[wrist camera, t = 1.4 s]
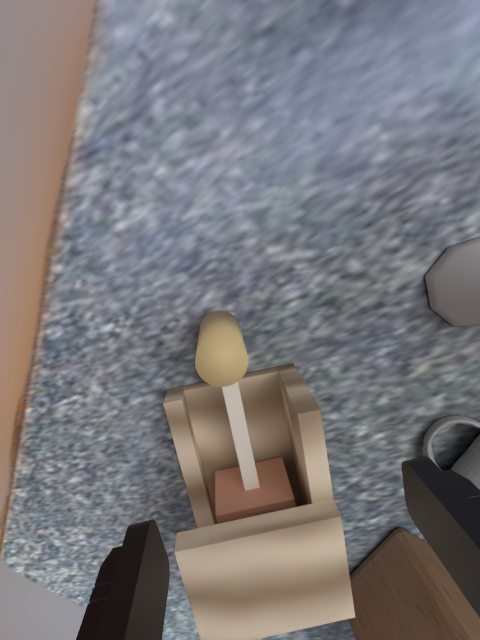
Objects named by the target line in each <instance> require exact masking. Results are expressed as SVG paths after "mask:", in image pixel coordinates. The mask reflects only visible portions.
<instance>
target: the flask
mask: <svg viewBox="0 0 480 640" xmlns="http://www.w3.org/2000/svg"><path fill="white" fill-rule="evenodd" d="M425 279H426V285H427V290H428V296H429V302H430V307H431V309H432V310H433V311H435V312H436V313H437V314H438V315H440V316H441V317H442V318H444V319H445V320H446V321H447V322H449V323H450V324H451V325H452V326H454V327H458V326H467V325H475V324H480V237H478V238H475V239H472V240H469V241H466V242H463V243H460V244H457V245H454V246H451V247H448V248H447V250H446V251H445V252H444V253H443V255H442V256H441V257H440V258H439V260H438V261H437V262H436V263H435V265H434V266H433V267H432V268H431V269H430V271H429V272H428V273H427V274H426V276H425Z"/></svg>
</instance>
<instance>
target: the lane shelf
mask: <svg viewBox="0 0 480 640" xmlns="http://www.w3.org/2000/svg"><path fill="white" fill-rule="evenodd" d="M238 384H239V389H240V394H241V399H242V404H243V408H244V413H245V418H246V423H247V427H248V432H249V437H250V442H251V447H252V451H253V456H254V461H255V463H256V462H260V461H265V460H270V459H274V458H279V457H282V459H283V462H284V466H285V469H286V472H287V476H288V479H289V482H290V486H291V489H292V492H293V496H294V499H295V505H296V507H294V508H290V509H285V510H280V511H276V512H271V513H266V514H262V515H257V516H252V517H248V518H243V519H239V520H234V521H229V522H225V523H220V524H217V520H216V509H215V471H218V470H223V469H227V468H232V467H237V466H239V462H238V457H237V453H236V448H235V444H234V439H233V435H232V430H231V426H230V421H229V417H228V412H227V408H226V403H225V399H224V394H223V390H222V387H217V386H213V385H210V384H208V383H207V382H201V383H196V384H191V385H186V386H181V387H177V388H172V389H167V392H166V395H165V399H164V402H163V405H164V408H165V412H166V416H167V419H168V423H169V427H170V430H171V434H172V438H173V441H174V445H175V448H176V452H177V456H178V459H179V463H180V467H181V470H182V474H183V477H184V481H185V485H186V488H187V492H188V496H189V499H190V503H191V506H192V510H193V514H194V517H195V521H196V525H197V529H192V530H188V531H183V532H178V533H177V535H176V543H175V551H174V553H175V556H176V560H177V563H178V566H179V570H180V573H181V576H182V579H183V583H184V586H185V589H186V593H187V596H188V599H189V602H190V606H191V609H192V612H193V616H194V619H195V622H196V626H197V629H198V632H199V635H200V639H201V640H256V639H261V638H265V637H270V636H274V635H279V634H283V633H287V632H292V631H296V630H301V629H305V628H310V627H314V626H319V625H323V624H328V623H332V622H337V621H341V620H346V619H350V618H354V617H355V611H354V604H353V597H352V590H351V583H350V576H349V569H348V561H347V554H346V547H345V540H344V533H343V526H342V519H341V515H340V512H339V510H338V508H337V506H336V503H335V501H334V499H333V492H332V485H331V478H330V471H329V465H328V458H327V451H326V444H325V437H324V430H323V423H322V416H321V409H320V408H319V406H318V404H317V403H316V401H315V399H314V398H313V396H312V394H311V393H310V391H309V389H308V388H307V386H306V384H305V383H304V381H303V379H302V378H301V376H300V374H299V372H298V371H297V369H296V367H295V366H294V364H288V365H283V366H278V367H273V368H268V369H264V370H259V371H254V372H249V373H245V374H244V376H243V377H242V378H241V379H240V380H239V381H238Z"/></svg>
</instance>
